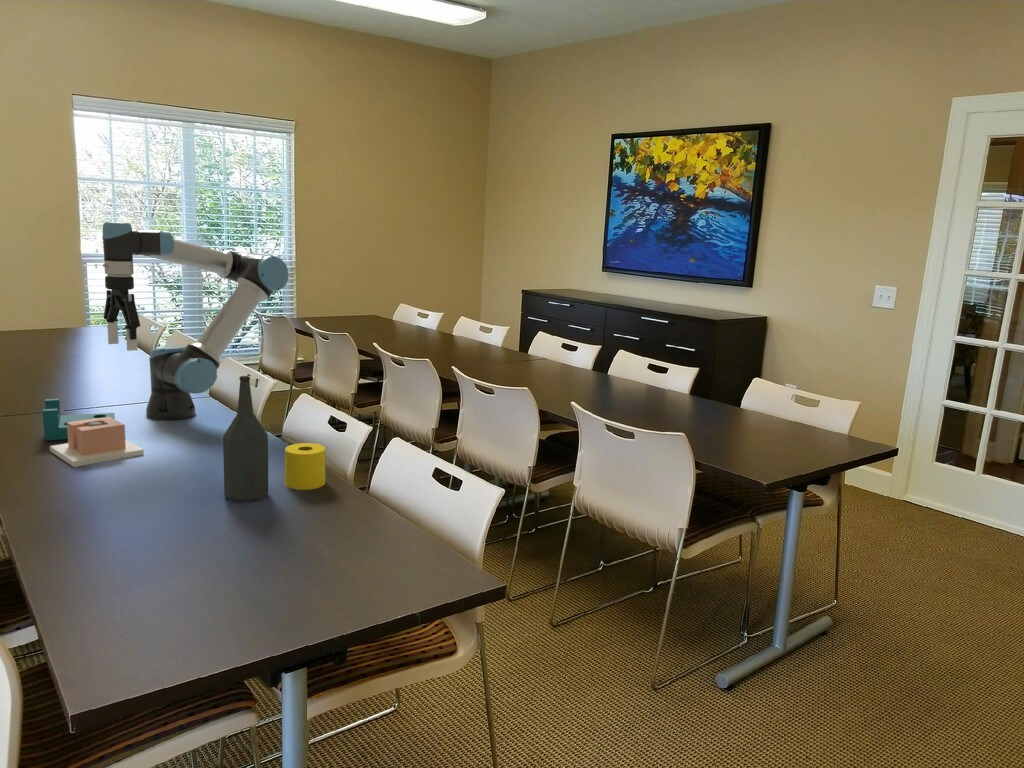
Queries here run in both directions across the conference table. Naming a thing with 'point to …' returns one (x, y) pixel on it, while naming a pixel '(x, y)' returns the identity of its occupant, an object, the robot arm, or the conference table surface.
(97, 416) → the teal l-shaped bracket
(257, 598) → the conference table surface
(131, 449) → the base
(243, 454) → the bottle
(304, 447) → the yellow toilet paper roll
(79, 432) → the orange arch block
